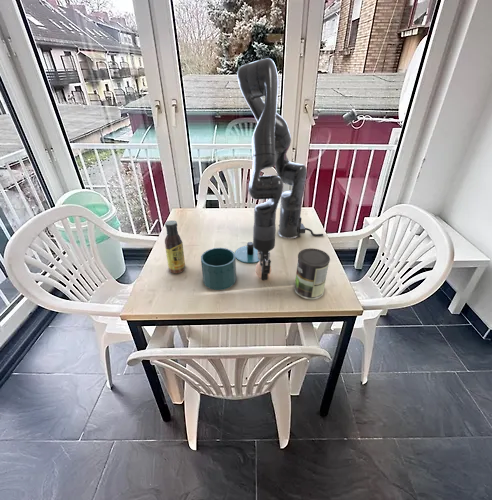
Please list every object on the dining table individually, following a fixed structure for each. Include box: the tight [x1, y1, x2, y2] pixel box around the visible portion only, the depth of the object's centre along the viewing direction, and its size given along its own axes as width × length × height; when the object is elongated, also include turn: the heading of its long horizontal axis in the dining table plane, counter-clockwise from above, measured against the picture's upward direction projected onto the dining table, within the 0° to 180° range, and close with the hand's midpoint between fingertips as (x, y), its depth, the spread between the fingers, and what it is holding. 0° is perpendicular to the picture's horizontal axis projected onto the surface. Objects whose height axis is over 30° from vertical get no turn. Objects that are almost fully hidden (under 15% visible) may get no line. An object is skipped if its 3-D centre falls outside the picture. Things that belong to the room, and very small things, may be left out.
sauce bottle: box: [164, 220, 186, 274], centre depth 105 cm, size 7×6×20 cm
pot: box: [200, 247, 237, 291], centre depth 101 cm, size 12×12×10 cm
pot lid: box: [234, 241, 259, 264], centre depth 117 cm, size 13×13×6 cm
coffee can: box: [294, 247, 331, 300], centre depth 96 cm, size 10×10×14 cm
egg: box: [255, 261, 272, 279], centre depth 104 cm, size 6×6×8 cm
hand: (263, 273), depth 105 cm, fingers open, 6 cm apart
